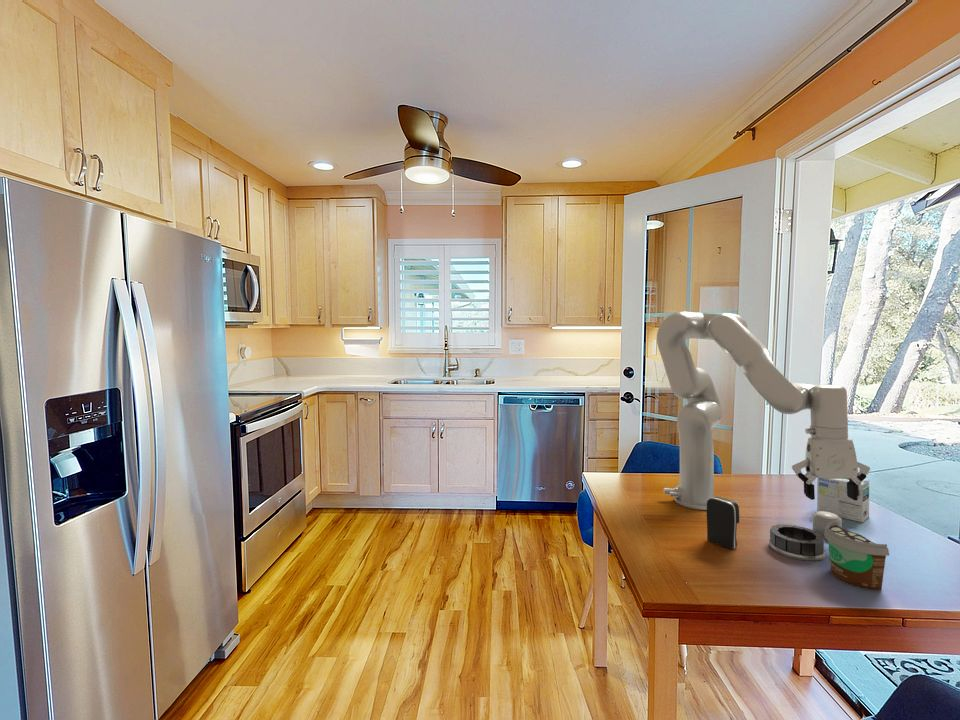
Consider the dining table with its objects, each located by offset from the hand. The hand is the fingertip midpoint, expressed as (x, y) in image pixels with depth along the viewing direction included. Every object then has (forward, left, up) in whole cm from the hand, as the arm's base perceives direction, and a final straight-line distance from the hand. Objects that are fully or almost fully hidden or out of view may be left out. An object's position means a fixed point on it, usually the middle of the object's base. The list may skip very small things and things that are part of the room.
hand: (831, 498), depth 115 cm
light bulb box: (+10, +14, -10) cm, 20 cm away
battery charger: (-29, -10, -10) cm, 32 cm away
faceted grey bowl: (-13, -11, -9) cm, 19 cm away
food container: (-9, -23, -10) cm, 27 cm away
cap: (-1, 0, -10) cm, 10 cm away
